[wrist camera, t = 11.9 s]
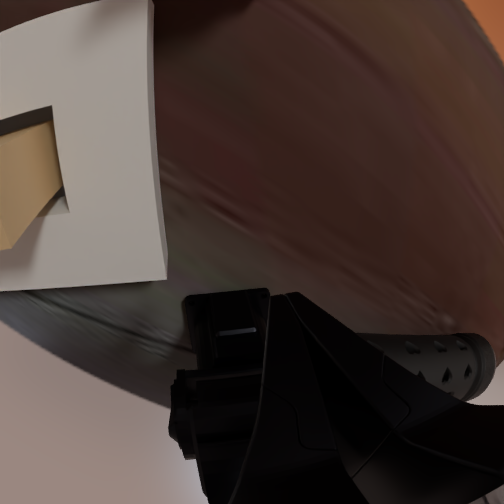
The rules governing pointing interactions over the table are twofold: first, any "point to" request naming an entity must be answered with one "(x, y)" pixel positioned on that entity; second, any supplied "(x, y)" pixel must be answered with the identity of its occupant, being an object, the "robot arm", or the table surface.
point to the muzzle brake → (442, 360)
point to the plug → (26, 177)
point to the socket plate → (88, 145)
